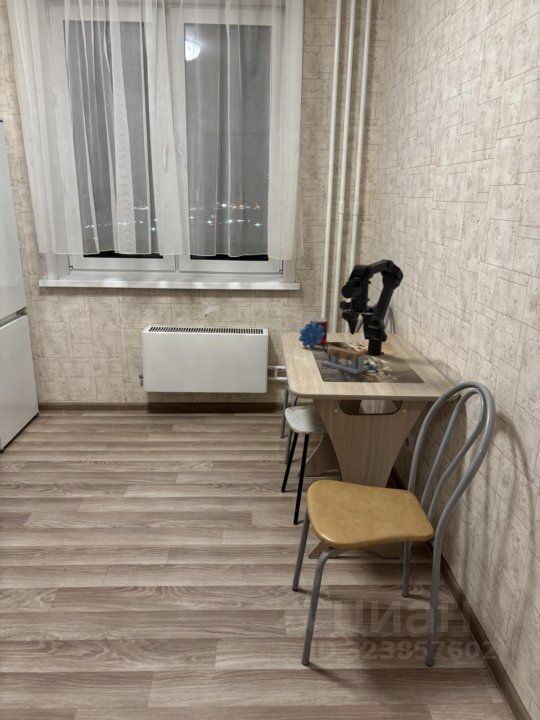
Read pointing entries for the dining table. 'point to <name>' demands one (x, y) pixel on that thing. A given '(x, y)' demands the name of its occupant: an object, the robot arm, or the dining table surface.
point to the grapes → (311, 334)
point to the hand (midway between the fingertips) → (358, 332)
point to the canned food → (324, 323)
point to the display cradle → (345, 364)
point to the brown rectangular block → (345, 353)
